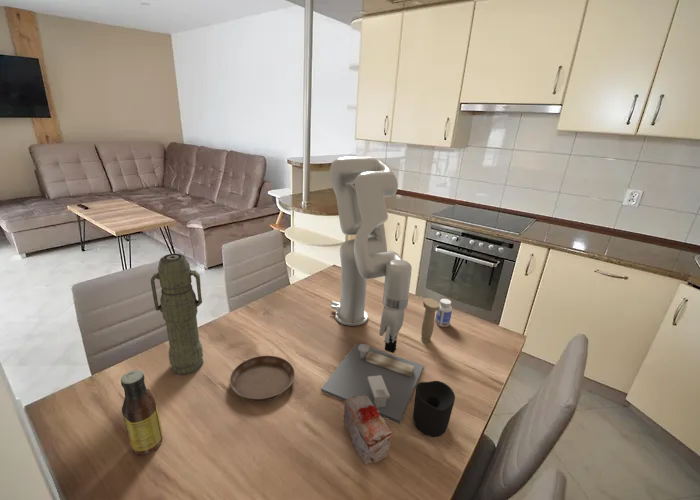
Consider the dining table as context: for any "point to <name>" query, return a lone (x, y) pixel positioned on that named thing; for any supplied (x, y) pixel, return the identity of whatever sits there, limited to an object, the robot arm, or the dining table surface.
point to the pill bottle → (444, 313)
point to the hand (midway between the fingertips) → (390, 350)
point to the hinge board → (360, 384)
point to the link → (390, 363)
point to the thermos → (179, 312)
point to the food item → (367, 429)
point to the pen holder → (432, 407)
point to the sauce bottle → (140, 414)
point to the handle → (429, 318)
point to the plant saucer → (262, 378)
